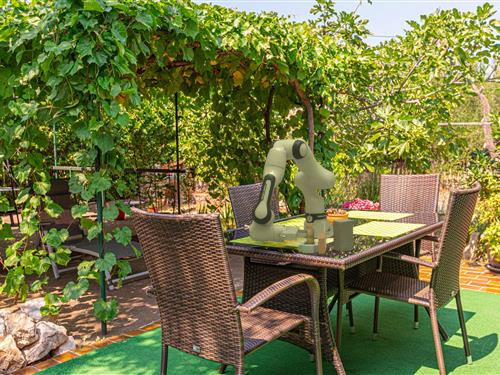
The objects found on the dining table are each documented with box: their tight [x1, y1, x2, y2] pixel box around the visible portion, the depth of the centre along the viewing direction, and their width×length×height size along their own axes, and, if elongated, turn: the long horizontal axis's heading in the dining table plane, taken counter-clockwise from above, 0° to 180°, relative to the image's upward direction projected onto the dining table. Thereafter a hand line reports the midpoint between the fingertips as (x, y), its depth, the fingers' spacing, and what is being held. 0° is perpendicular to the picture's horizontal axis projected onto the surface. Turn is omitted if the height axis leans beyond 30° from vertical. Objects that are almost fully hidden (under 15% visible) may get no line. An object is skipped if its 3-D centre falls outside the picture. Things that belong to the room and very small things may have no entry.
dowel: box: [306, 223, 316, 244], centre depth 258 cm, size 4×4×14 cm
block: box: [298, 240, 318, 254], centre depth 259 cm, size 10×14×4 cm
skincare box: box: [332, 218, 354, 253], centre depth 257 cm, size 8×7×16 cm
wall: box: [317, 232, 327, 255], centre depth 257 cm, size 3×18×8 cm, turn 169°
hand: (307, 233), depth 258 cm, fingers open, 8 cm apart
